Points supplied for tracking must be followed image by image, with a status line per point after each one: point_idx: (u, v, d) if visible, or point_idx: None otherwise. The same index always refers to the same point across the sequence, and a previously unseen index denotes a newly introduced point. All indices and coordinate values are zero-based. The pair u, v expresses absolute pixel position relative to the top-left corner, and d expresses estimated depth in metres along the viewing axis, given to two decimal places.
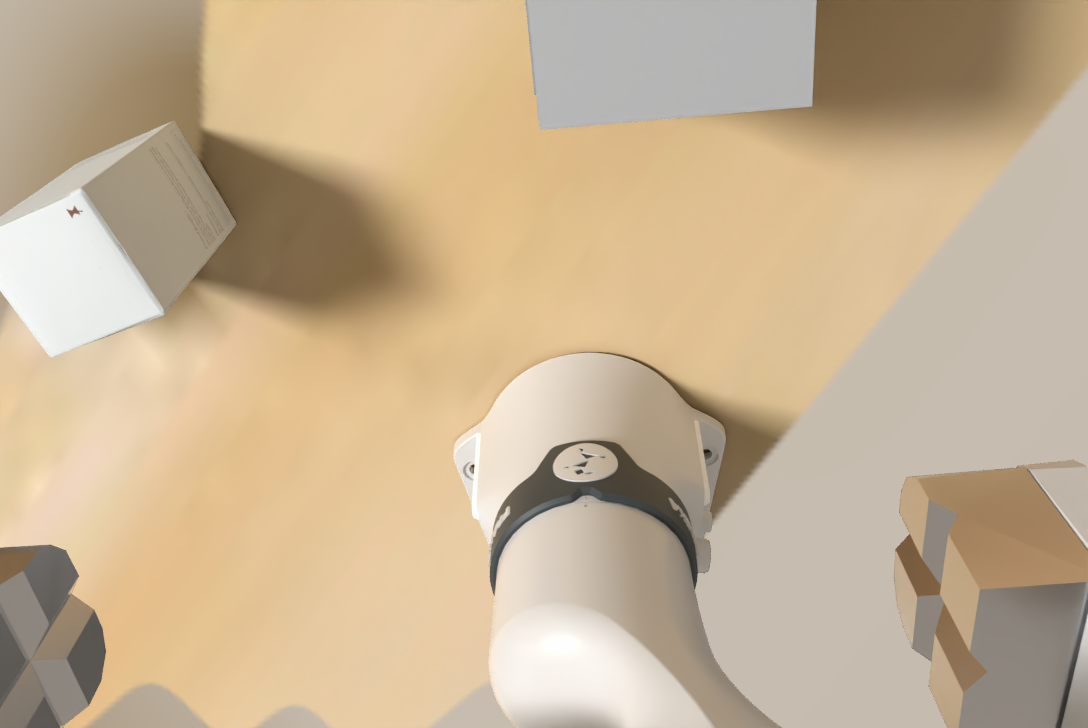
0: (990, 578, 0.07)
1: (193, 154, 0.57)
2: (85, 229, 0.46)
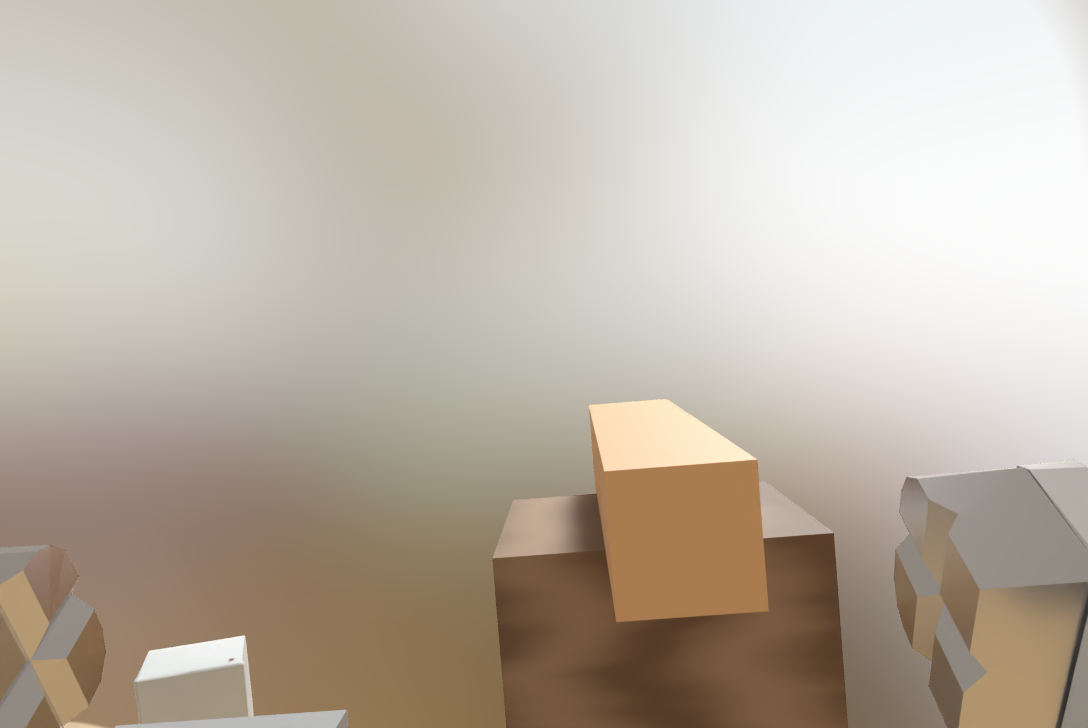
0: (990, 578, 0.07)
1: None
2: (217, 661, 0.68)
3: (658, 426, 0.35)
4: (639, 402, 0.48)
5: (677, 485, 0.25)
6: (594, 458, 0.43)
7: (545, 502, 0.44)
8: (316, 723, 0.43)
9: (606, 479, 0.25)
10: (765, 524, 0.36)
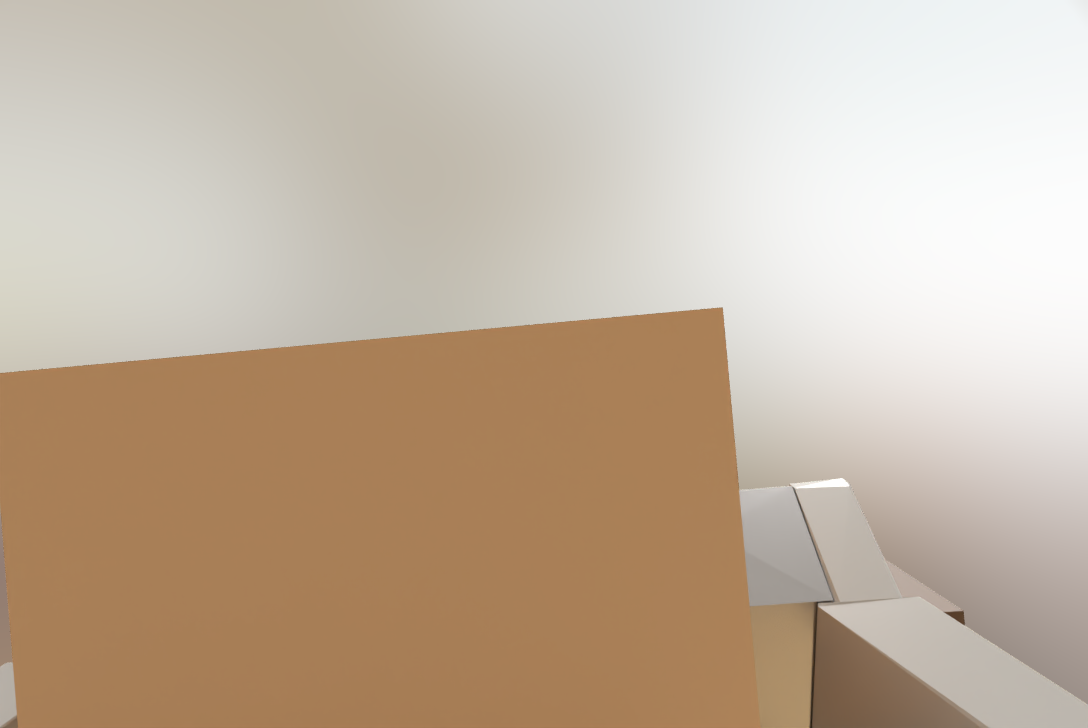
0: None
1: None
2: None
3: None
4: None
5: (331, 440, 0.05)
6: None
7: None
8: None
9: (2, 414, 0.05)
10: None
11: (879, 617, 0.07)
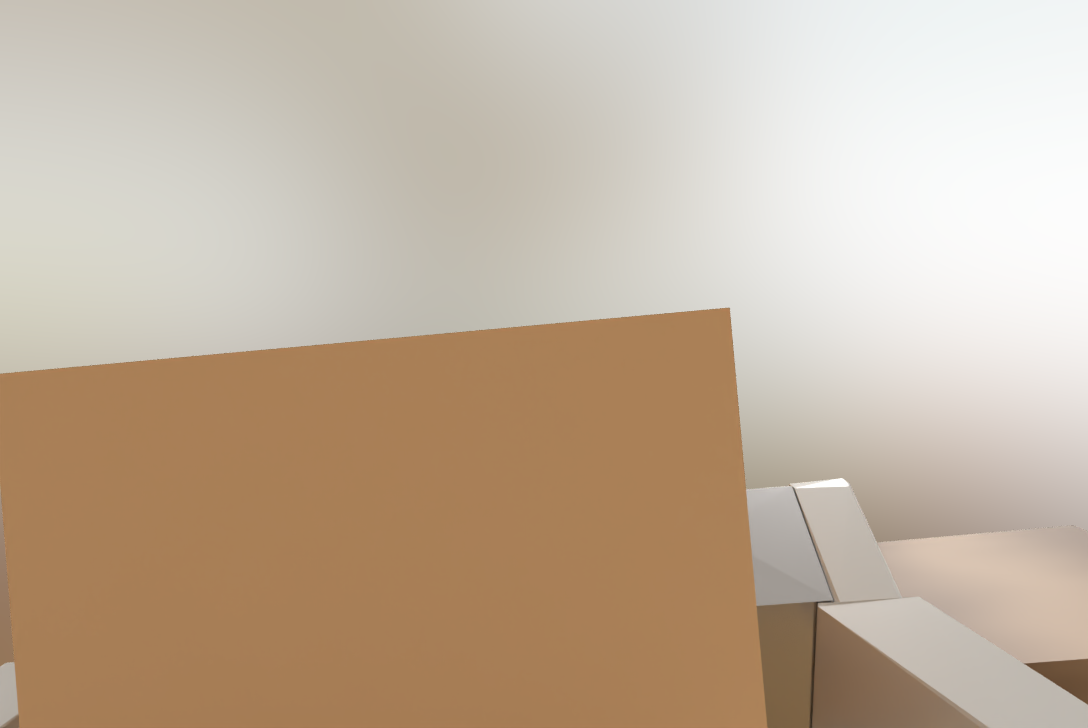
0: None
1: None
2: None
3: None
4: None
5: (335, 440, 0.05)
6: None
7: None
8: None
9: (4, 414, 0.05)
10: None
11: (879, 617, 0.07)
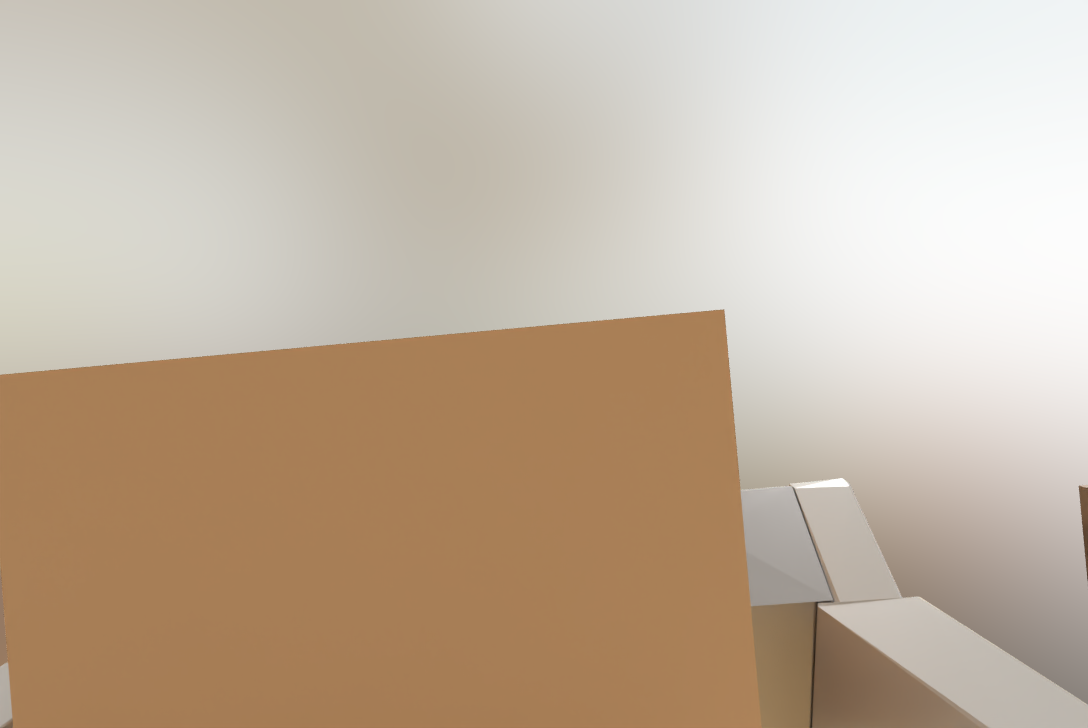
0: None
1: None
2: None
3: None
4: None
5: (331, 442, 0.05)
6: None
7: None
8: None
9: None
10: None
11: (879, 617, 0.07)
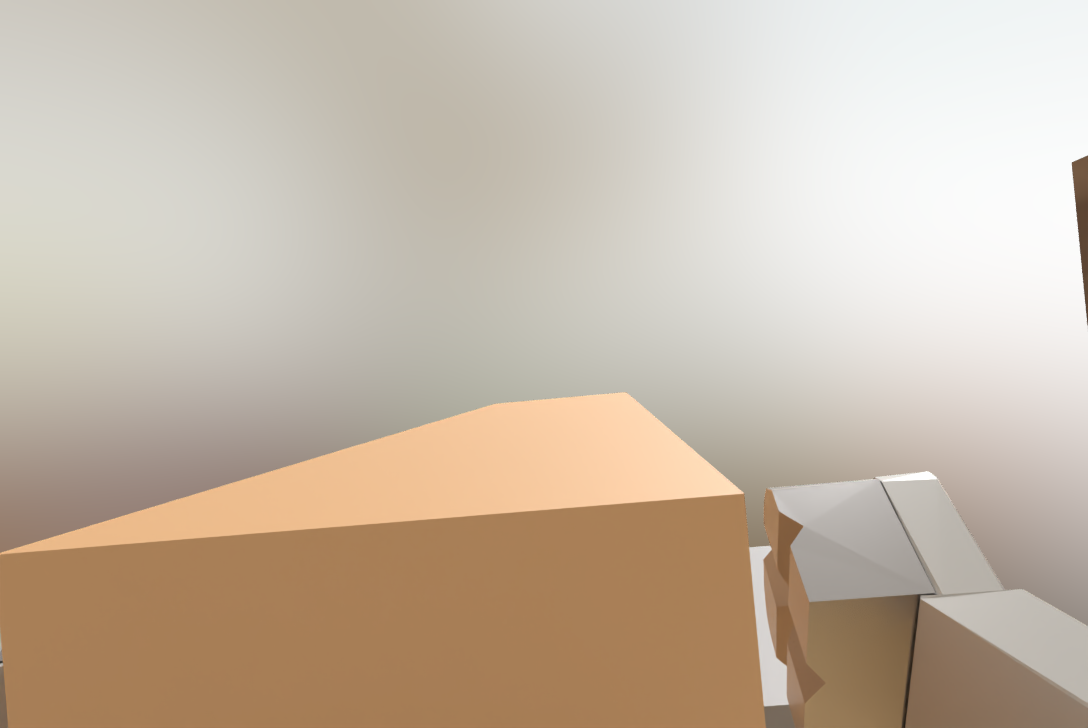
0: (822, 590, 0.07)
1: None
2: None
3: (546, 419, 0.15)
4: (577, 397, 0.28)
5: (345, 625, 0.05)
6: None
7: None
8: None
9: (7, 595, 0.05)
10: None
11: (985, 610, 0.07)
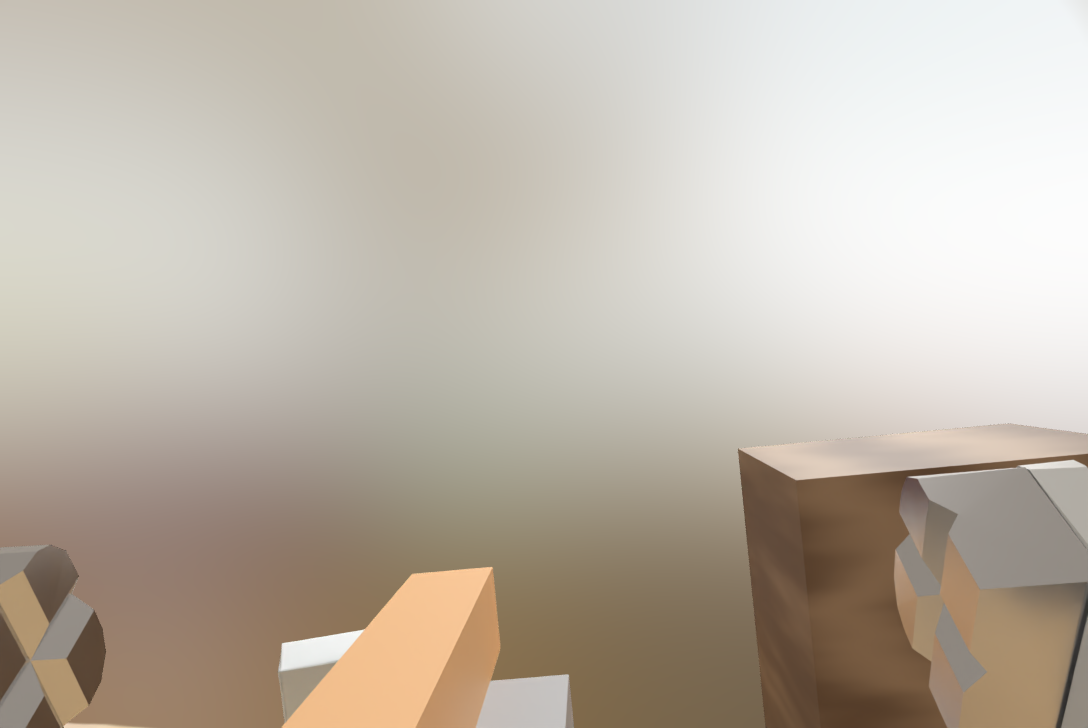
0: (990, 578, 0.07)
1: None
2: None
3: (407, 651, 0.33)
4: (460, 573, 0.46)
5: None
6: None
7: (779, 447, 0.42)
8: (542, 687, 0.40)
9: None
10: (1077, 445, 0.33)
11: None
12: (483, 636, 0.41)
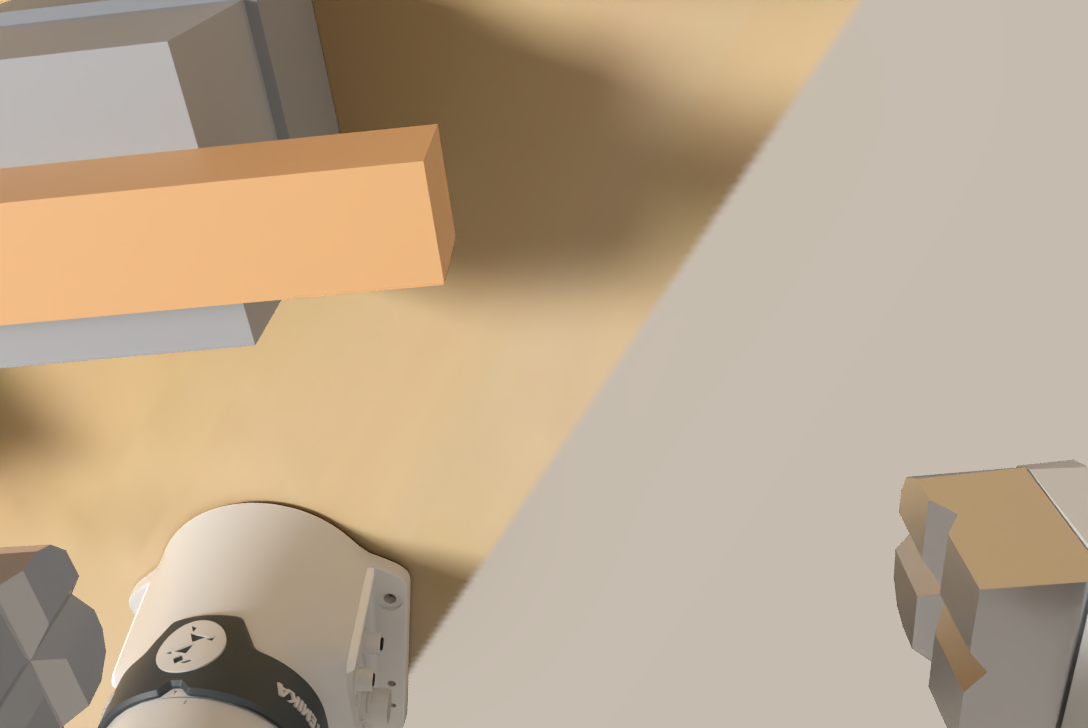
0: (990, 578, 0.07)
1: None
2: None
3: (95, 246, 0.29)
4: None
5: (436, 222, 0.29)
6: None
7: None
8: None
9: (444, 280, 0.30)
10: None
11: None
12: None
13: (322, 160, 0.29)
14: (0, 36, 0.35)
